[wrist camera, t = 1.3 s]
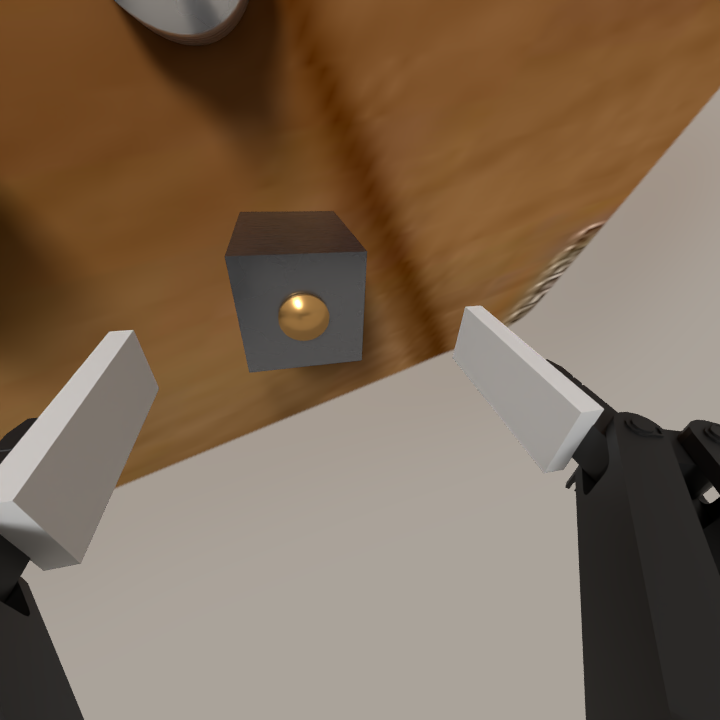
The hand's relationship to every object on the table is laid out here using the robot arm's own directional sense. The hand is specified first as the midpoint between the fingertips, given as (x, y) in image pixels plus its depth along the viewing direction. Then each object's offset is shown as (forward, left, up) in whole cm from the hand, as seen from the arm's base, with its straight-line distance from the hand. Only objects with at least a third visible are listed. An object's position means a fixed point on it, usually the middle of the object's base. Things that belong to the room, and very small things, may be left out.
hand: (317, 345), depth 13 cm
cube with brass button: (0, 0, -12) cm, 12 cm away
